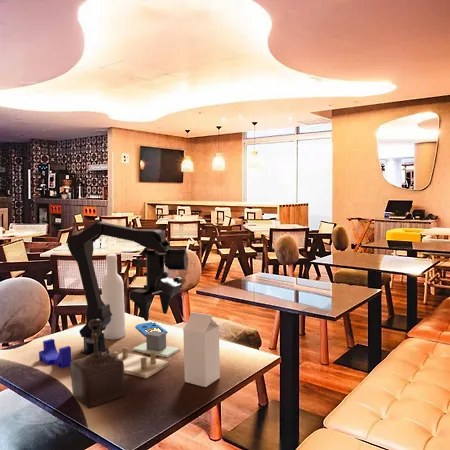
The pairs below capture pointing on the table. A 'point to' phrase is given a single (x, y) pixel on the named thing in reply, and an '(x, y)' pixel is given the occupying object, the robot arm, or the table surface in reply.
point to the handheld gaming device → (149, 327)
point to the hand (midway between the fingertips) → (156, 317)
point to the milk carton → (201, 350)
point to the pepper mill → (97, 374)
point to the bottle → (114, 299)
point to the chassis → (140, 363)
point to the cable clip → (55, 354)
